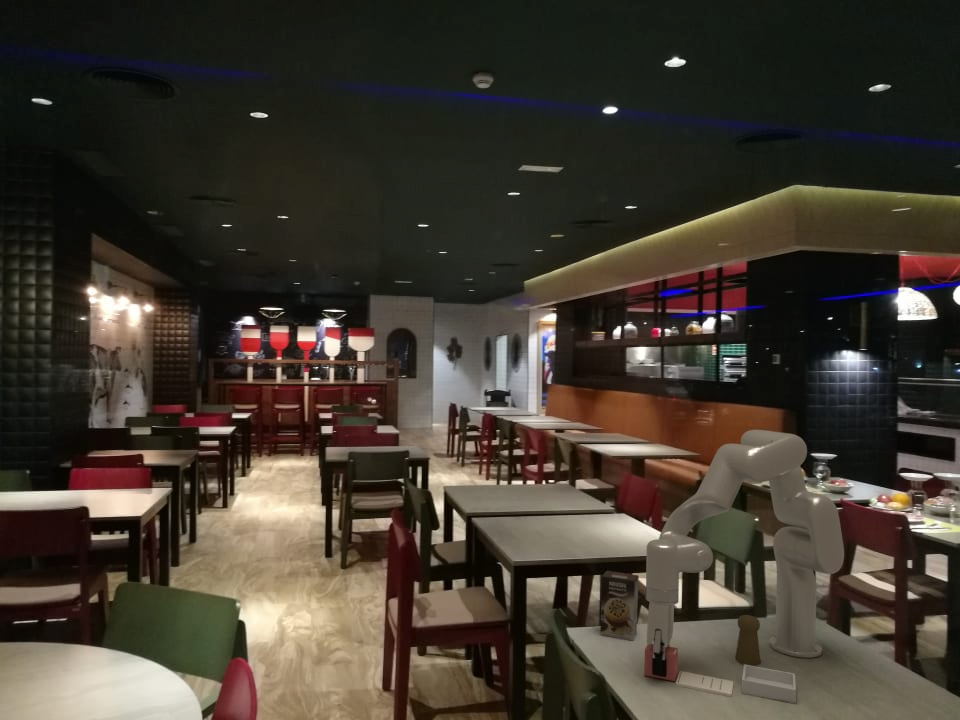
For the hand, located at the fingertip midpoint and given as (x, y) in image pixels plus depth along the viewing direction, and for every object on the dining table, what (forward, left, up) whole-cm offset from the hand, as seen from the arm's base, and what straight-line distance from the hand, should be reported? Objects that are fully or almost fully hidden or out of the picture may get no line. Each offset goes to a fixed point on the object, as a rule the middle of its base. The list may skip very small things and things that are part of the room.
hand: (661, 670), depth 162 cm
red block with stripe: (0, 0, -1) cm, 1 cm away
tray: (-4, +23, -1) cm, 24 cm away
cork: (-19, +18, -2) cm, 26 cm away
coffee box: (-21, -15, -2) cm, 25 cm away
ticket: (0, +10, -1) cm, 10 cm away
